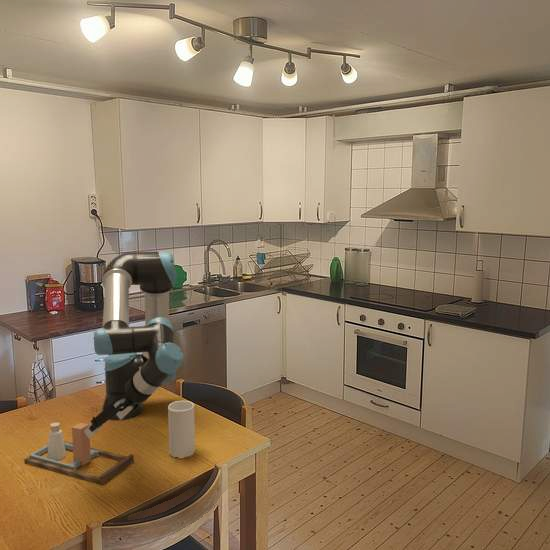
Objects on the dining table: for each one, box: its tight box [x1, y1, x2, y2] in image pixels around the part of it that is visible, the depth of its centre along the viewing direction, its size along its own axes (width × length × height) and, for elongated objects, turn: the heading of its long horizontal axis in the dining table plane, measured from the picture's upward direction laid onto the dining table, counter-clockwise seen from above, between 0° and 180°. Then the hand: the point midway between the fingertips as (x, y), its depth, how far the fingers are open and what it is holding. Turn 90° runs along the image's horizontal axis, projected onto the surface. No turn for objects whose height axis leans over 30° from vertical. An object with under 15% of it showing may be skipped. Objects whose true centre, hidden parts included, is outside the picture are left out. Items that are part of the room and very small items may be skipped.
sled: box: [28, 422, 100, 471], centre depth 160 cm, size 18×11×12 cm, turn 67°
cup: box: [167, 400, 196, 458], centre depth 164 cm, size 8×8×16 cm
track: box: [24, 440, 135, 486], centre depth 158 cm, size 31×14×2 cm, turn 67°
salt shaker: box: [47, 422, 67, 461], centre depth 161 cm, size 5×5×11 cm
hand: (103, 425), depth 152 cm, fingers open, 13 cm apart
